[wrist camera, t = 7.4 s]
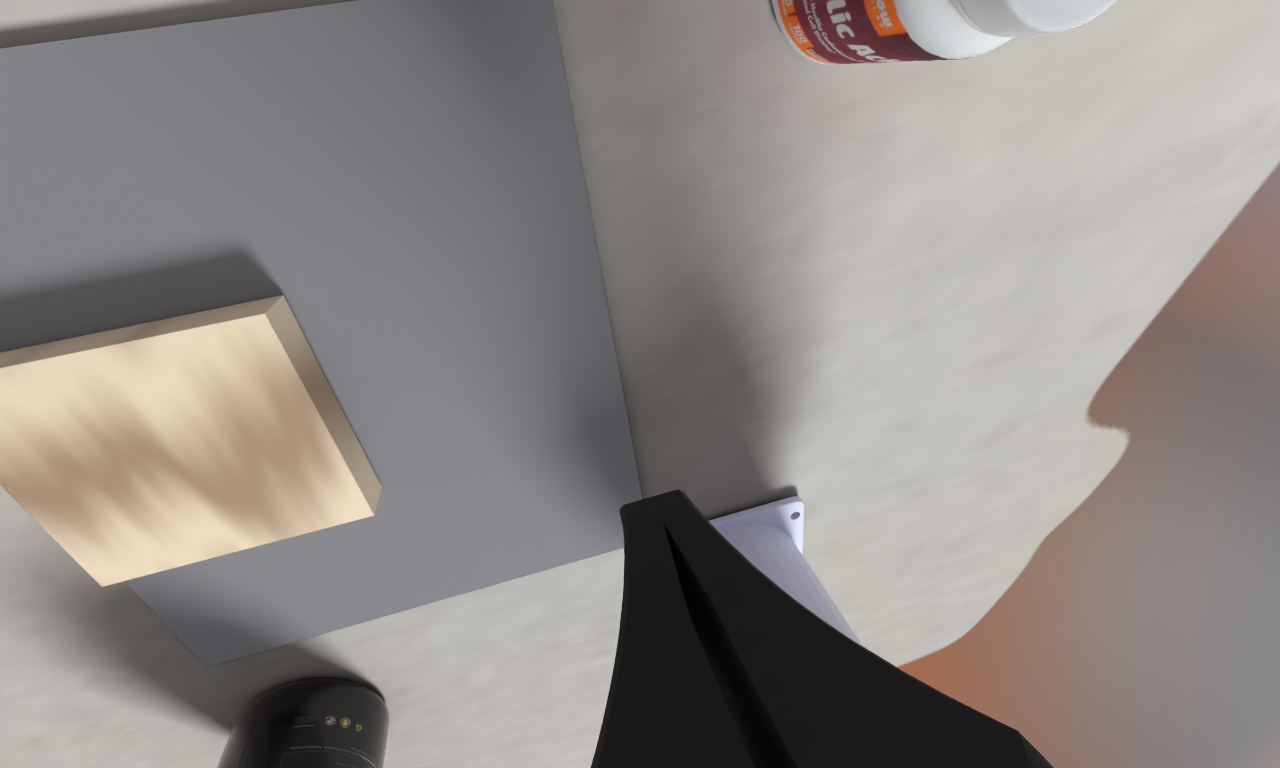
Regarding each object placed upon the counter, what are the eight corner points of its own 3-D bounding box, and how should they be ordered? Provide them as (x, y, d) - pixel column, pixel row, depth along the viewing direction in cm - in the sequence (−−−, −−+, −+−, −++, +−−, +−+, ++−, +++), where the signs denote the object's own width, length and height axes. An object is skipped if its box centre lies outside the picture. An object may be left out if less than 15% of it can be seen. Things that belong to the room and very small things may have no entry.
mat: (648, 534, 26) (650, 540, 26) (210, 659, 23) (206, 667, 23) (545, -23, 15) (546, -26, 15) (-320, 94, 12) (-342, 95, 12)
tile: (374, 515, 19) (101, 586, 18) (382, 484, 21) (131, 548, 20) (264, 313, 15) (-97, 388, 14) (284, 293, 17) (-40, 359, 16)
